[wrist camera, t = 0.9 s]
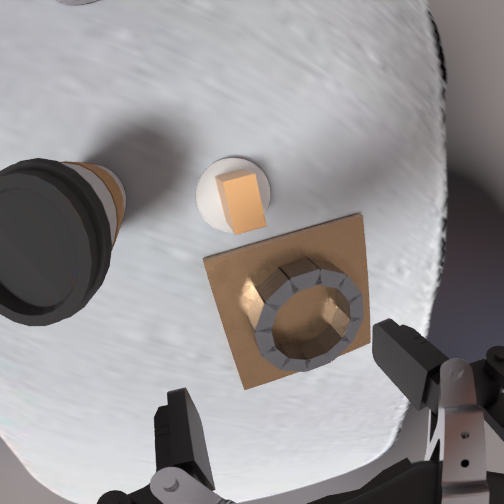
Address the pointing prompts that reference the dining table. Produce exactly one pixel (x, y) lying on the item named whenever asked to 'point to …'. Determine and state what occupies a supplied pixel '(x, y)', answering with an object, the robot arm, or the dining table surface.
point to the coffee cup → (55, 237)
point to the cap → (233, 195)
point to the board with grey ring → (293, 299)
